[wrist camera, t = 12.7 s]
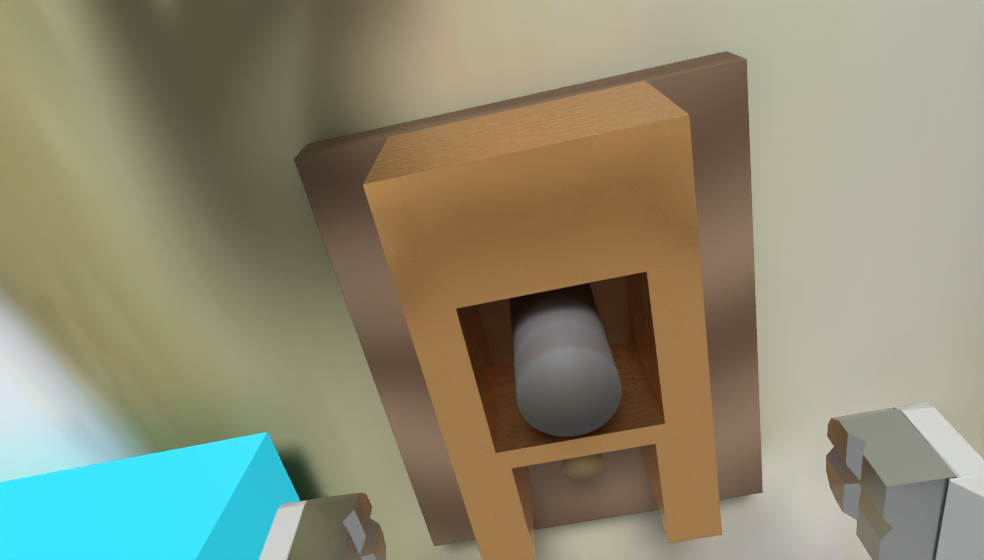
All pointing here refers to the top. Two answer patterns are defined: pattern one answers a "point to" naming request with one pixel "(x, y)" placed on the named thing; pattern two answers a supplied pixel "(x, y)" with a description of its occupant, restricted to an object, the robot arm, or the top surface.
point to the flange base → (720, 295)
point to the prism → (150, 506)
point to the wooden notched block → (552, 265)
